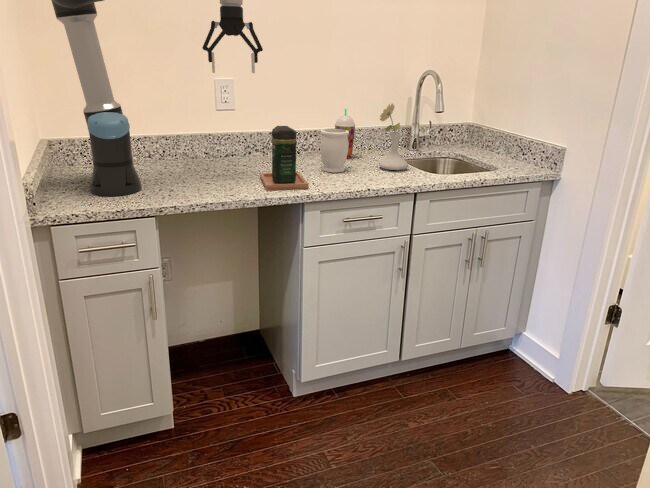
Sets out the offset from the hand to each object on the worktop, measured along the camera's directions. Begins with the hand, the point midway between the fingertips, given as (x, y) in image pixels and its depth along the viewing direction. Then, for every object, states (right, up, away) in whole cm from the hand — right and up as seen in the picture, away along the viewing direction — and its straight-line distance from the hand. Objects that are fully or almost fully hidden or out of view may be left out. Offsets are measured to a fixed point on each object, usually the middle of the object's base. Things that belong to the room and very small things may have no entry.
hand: (233, 72), depth 185 cm
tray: (+17, -39, -2) cm, 42 cm away
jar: (+35, -32, +18) cm, 50 cm away
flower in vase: (+57, -31, +22) cm, 69 cm away
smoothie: (+40, -23, +39) cm, 60 cm away
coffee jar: (+18, -38, -2) cm, 42 cm away
